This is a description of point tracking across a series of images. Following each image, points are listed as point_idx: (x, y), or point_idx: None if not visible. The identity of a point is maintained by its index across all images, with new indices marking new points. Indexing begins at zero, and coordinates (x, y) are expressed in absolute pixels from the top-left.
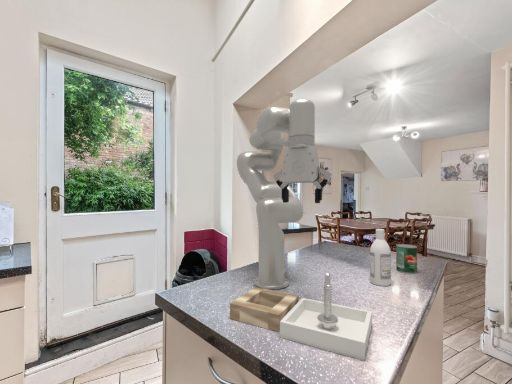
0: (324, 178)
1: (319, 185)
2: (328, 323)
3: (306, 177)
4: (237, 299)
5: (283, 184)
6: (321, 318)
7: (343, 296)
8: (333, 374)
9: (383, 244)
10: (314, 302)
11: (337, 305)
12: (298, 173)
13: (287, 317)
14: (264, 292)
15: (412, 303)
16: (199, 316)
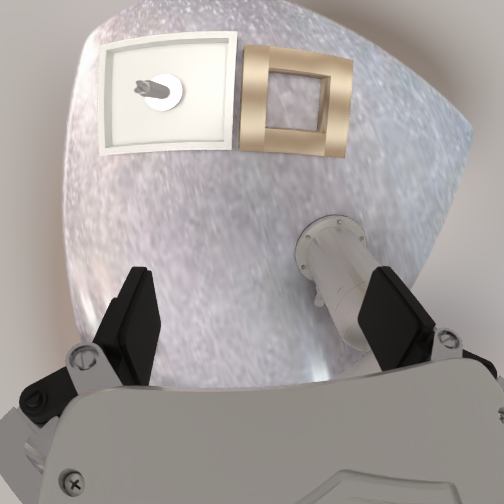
0: (37, 430)
1: (79, 369)
2: (158, 76)
3: (176, 434)
4: (349, 80)
5: (450, 357)
6: (171, 80)
7: (176, 250)
8: (143, 4)
9: None
10: (201, 142)
11: (155, 146)
12: (341, 490)
13: (229, 49)
14: (315, 134)
15: (80, 271)
16: (388, 60)
